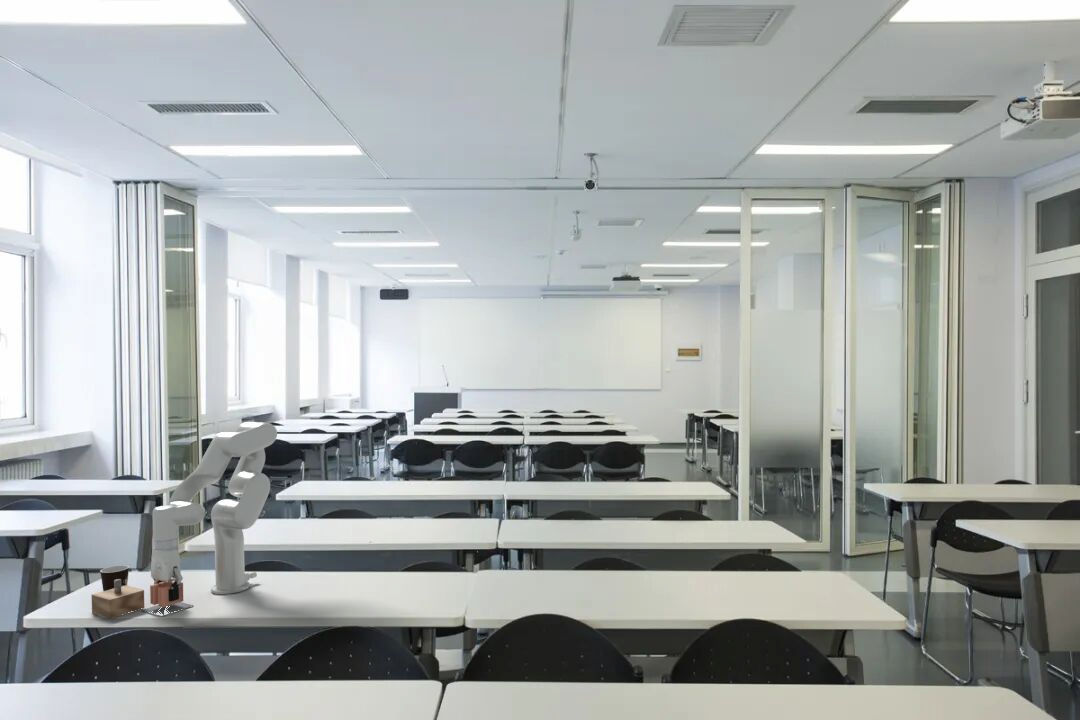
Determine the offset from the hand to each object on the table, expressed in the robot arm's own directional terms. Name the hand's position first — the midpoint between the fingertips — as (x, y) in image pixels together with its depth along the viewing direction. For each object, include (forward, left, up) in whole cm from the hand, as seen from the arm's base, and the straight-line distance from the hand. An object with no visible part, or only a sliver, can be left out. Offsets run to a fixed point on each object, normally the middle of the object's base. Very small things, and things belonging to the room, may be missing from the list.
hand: (167, 598), depth 240 cm
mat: (0, 0, -4) cm, 4 cm away
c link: (0, 0, -1) cm, 1 cm away
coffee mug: (+1, -28, -4) cm, 28 cm away
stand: (+9, -13, -4) cm, 16 cm away
